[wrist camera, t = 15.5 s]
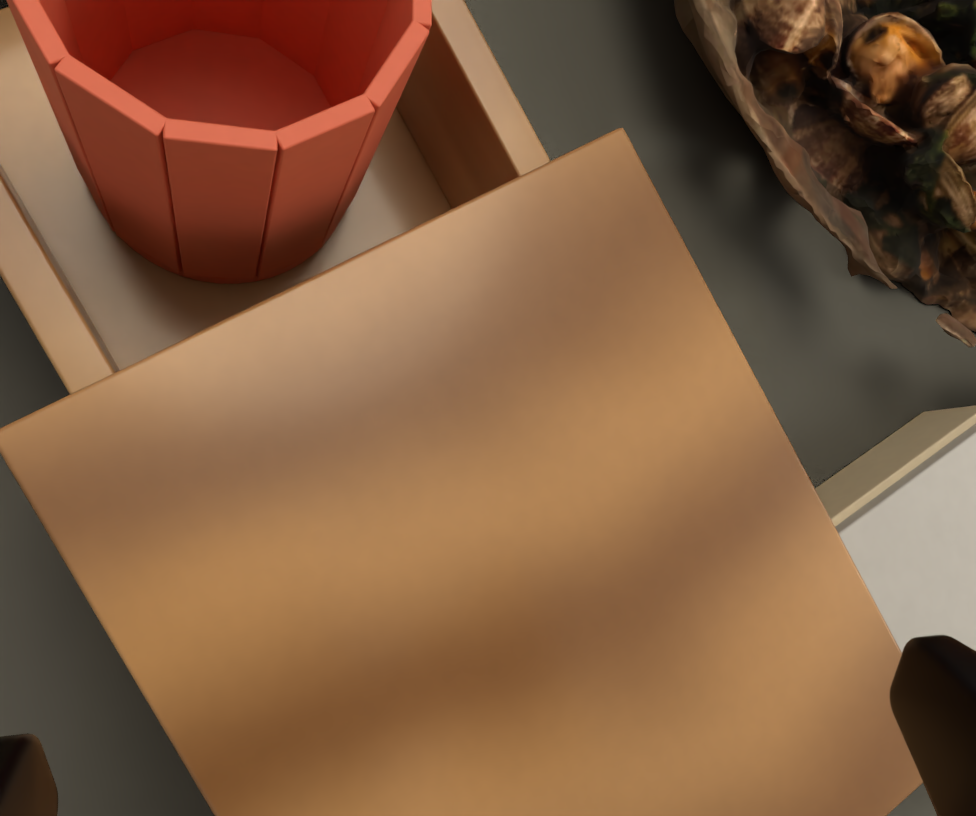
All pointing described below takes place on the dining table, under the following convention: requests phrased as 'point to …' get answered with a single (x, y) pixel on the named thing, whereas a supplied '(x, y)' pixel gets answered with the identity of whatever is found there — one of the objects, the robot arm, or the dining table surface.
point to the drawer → (198, 305)
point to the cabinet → (478, 535)
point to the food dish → (863, 127)
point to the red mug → (223, 117)
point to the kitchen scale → (915, 524)
